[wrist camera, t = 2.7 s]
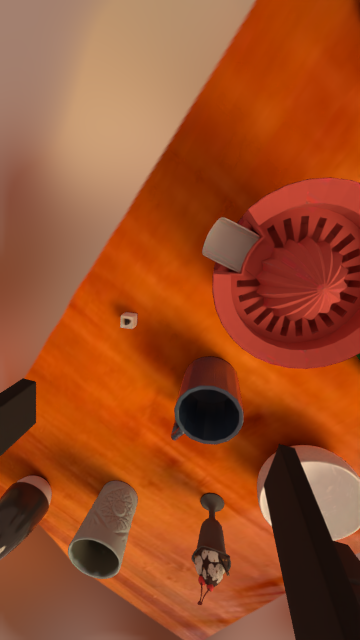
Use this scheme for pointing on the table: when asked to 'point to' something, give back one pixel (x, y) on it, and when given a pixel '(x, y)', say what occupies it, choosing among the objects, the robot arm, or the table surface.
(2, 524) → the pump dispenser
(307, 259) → the citrus juicer
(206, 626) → the table surface
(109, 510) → the grey embossed cup
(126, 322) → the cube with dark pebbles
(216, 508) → the sundae
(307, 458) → the cereal bowl
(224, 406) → the mug
